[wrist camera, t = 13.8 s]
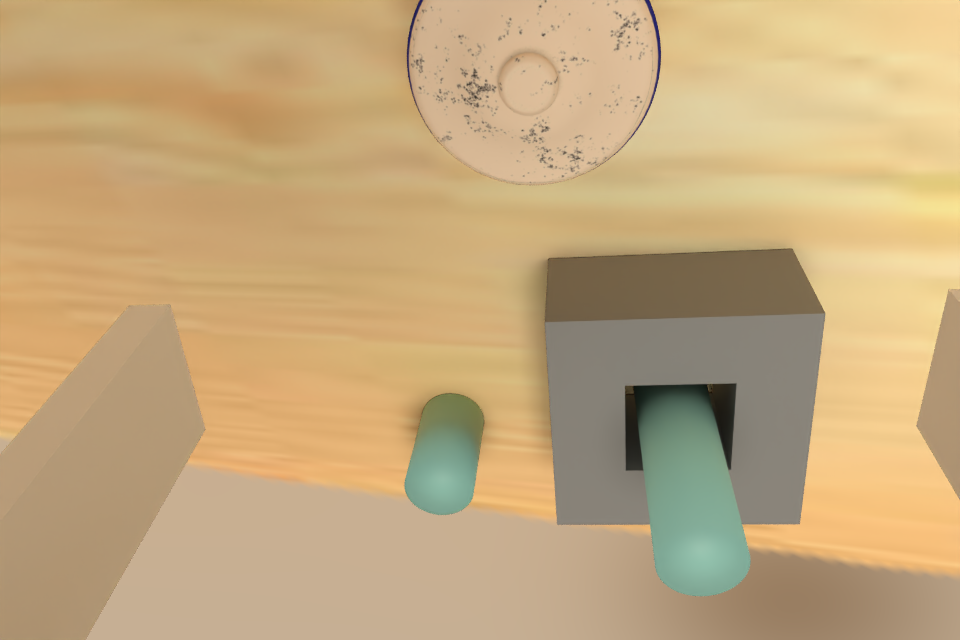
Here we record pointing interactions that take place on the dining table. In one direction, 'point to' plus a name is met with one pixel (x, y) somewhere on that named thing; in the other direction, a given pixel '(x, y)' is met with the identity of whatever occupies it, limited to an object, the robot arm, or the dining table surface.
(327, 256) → the dining table surface
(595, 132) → the teacup with lid
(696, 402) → the long pin
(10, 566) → the robot arm
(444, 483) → the short pin
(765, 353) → the hole block
